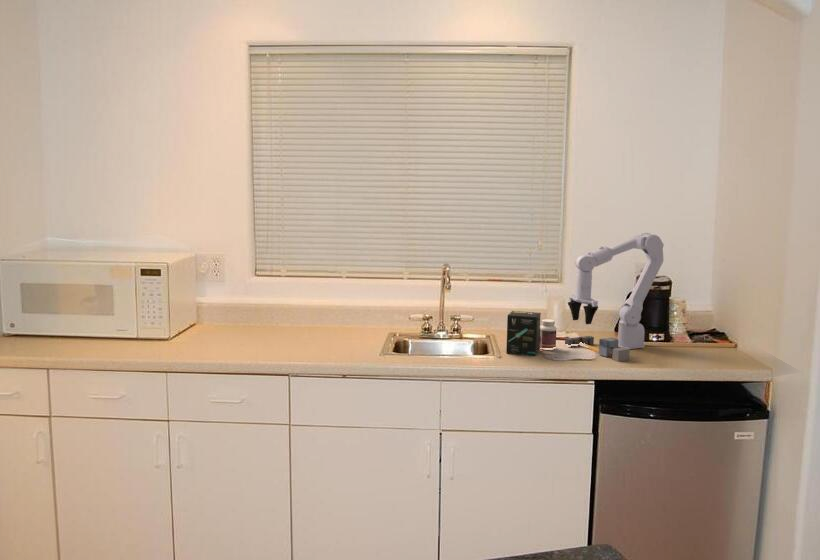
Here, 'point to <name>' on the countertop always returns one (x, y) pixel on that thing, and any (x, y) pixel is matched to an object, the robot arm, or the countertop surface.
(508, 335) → the tampon box
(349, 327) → the countertop surface
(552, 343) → the pill bottle
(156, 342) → the countertop surface
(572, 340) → the comb
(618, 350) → the hammer
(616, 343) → the sleeve
